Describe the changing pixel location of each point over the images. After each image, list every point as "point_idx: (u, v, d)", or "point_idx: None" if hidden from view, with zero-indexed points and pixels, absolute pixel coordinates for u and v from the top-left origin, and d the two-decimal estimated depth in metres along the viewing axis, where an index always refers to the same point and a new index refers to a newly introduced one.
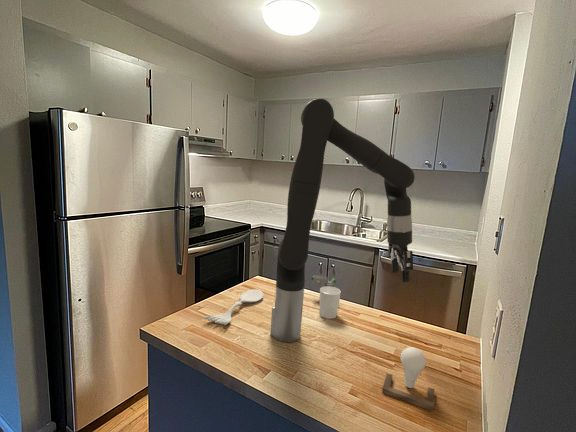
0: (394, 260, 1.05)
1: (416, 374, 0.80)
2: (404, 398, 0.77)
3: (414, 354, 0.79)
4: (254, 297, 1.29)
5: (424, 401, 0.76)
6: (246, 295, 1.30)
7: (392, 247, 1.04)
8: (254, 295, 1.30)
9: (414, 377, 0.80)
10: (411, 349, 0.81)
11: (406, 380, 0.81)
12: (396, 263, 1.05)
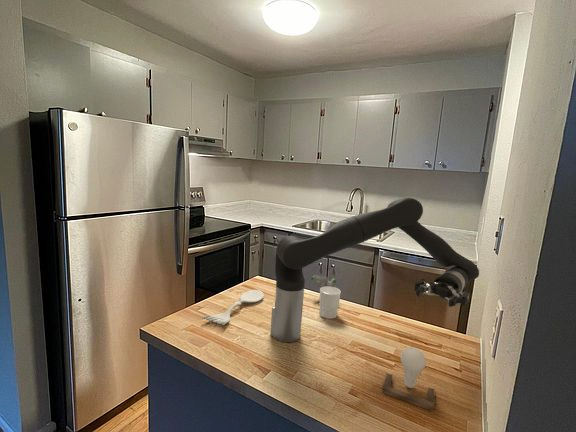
0: (423, 289, 0.93)
1: (416, 374, 0.80)
2: (404, 398, 0.77)
3: (414, 354, 0.79)
4: (254, 297, 1.29)
5: (424, 401, 0.76)
6: (246, 295, 1.30)
7: (431, 283, 0.96)
8: (254, 295, 1.30)
9: (414, 377, 0.80)
10: (411, 349, 0.81)
11: (406, 380, 0.81)
12: (423, 292, 0.92)
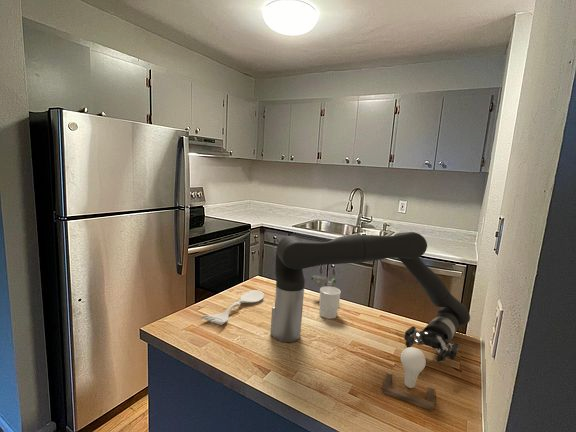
0: (413, 339, 0.94)
1: (416, 374, 0.80)
2: (404, 398, 0.77)
3: (414, 354, 0.79)
4: (254, 298, 1.28)
5: (424, 401, 0.76)
6: (247, 295, 1.30)
7: (421, 332, 0.97)
8: (255, 296, 1.30)
9: (414, 377, 0.80)
10: (411, 349, 0.81)
11: (406, 380, 0.81)
12: (412, 342, 0.93)
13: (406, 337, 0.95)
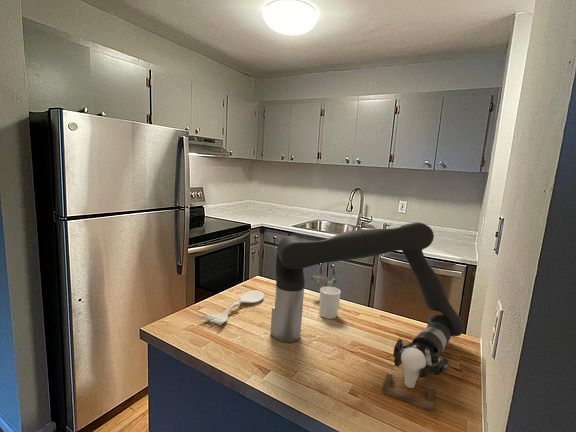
0: None
1: (416, 374, 0.80)
2: (404, 398, 0.77)
3: (414, 354, 0.79)
4: (254, 298, 1.28)
5: (424, 401, 0.76)
6: (247, 296, 1.29)
7: (409, 345, 0.89)
8: (255, 296, 1.30)
9: (414, 377, 0.80)
10: (411, 349, 0.81)
11: (406, 380, 0.81)
12: None
13: (396, 353, 0.86)
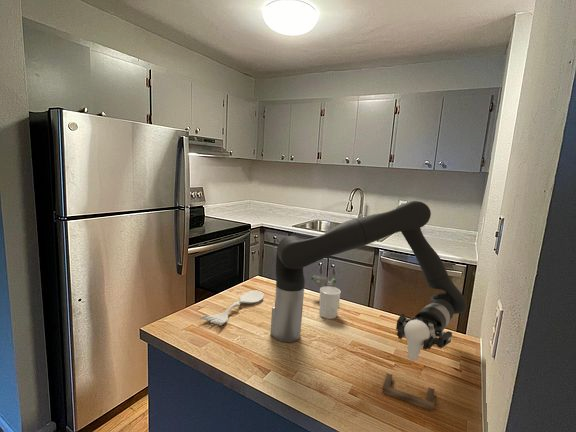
0: None
1: (420, 346, 0.78)
2: (404, 398, 0.77)
3: (418, 325, 0.78)
4: (254, 298, 1.28)
5: (424, 401, 0.76)
6: (246, 296, 1.29)
7: (412, 319, 0.87)
8: (254, 296, 1.29)
9: (417, 349, 0.79)
10: (415, 321, 0.79)
11: (409, 352, 0.80)
12: None
13: (399, 327, 0.85)
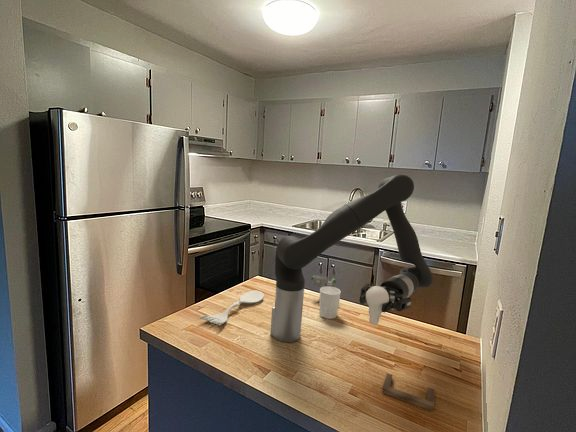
0: None
1: (379, 310, 0.83)
2: (404, 398, 0.77)
3: (377, 290, 0.82)
4: (254, 298, 1.28)
5: (424, 401, 0.76)
6: (246, 296, 1.29)
7: None
8: (254, 296, 1.29)
9: (378, 313, 0.83)
10: (375, 287, 0.84)
11: (370, 317, 0.85)
12: None
13: (362, 294, 0.89)
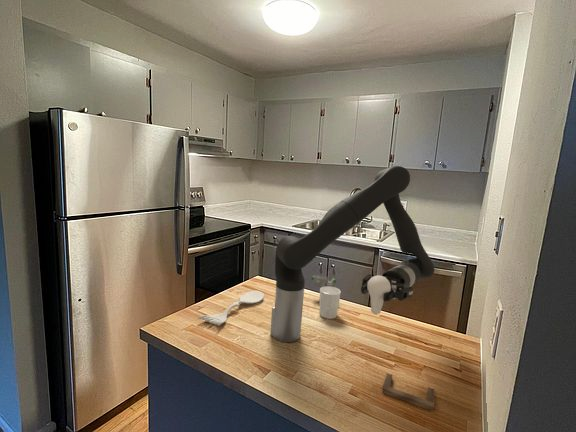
0: None
1: (381, 299, 0.83)
2: (404, 398, 0.77)
3: (379, 279, 0.82)
4: (254, 298, 1.28)
5: (424, 401, 0.76)
6: (246, 296, 1.29)
7: None
8: (254, 296, 1.29)
9: (379, 303, 0.83)
10: (377, 276, 0.83)
11: (372, 306, 0.84)
12: None
13: (364, 284, 0.89)
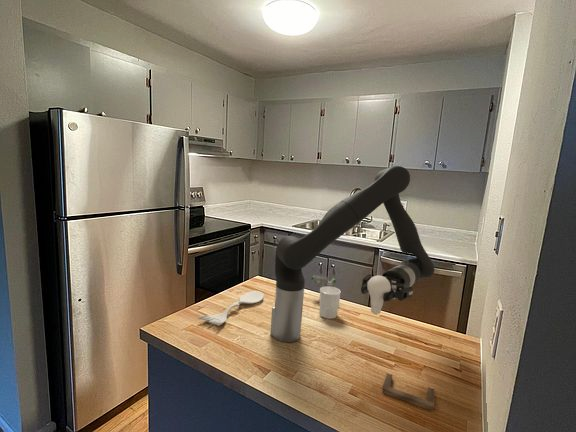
0: None
1: (381, 299, 0.83)
2: (404, 398, 0.77)
3: (379, 279, 0.82)
4: (254, 298, 1.28)
5: (424, 401, 0.76)
6: (246, 296, 1.29)
7: None
8: (254, 296, 1.29)
9: (379, 303, 0.83)
10: (377, 276, 0.83)
11: (372, 306, 0.84)
12: None
13: (364, 284, 0.89)
